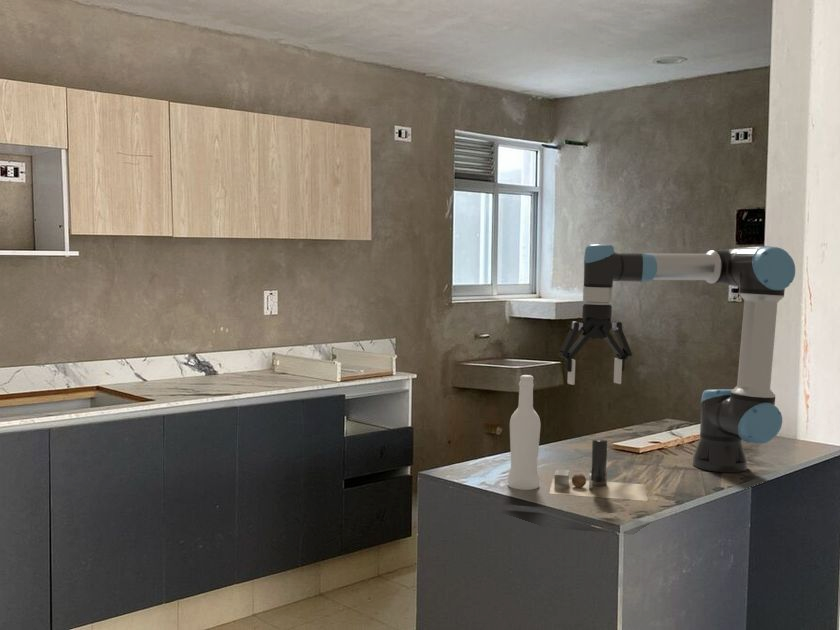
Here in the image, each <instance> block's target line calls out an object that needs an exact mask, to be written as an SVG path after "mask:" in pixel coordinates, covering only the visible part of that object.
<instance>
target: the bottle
mask: <svg viewBox="0 0 840 630" xmlns="http://www.w3.org/2000/svg"><path fill="white" fill-rule="evenodd" d="M519 379H520V380H519V382H518V386H519V389H518V406H517V408H516V409H515V410H514V412H513V413H512V414H511V417H510V420H509V442H510V443H509V445H510V446H509V447H510V470H509V472H508V476H507V485H508V487H509V488H512V489H515V490H516V489H517V490H522V491H523V490H525V491H526V490H527V491H528V490H529V491H530V490H535V489H538V488H539V487H540V475H539V471H538V460H539V459H538V458H539V451H540V450H539V448H540V447H539V445H540V438H541V437H540V435H541V428H542V427H541V423H542V422H541V420H540V415H538V413H537V411H536V410H535V409H534V386H535V385H534V380H535V379H534V376H533V375H531V374H522V375H520V376H519Z"/></svg>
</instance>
